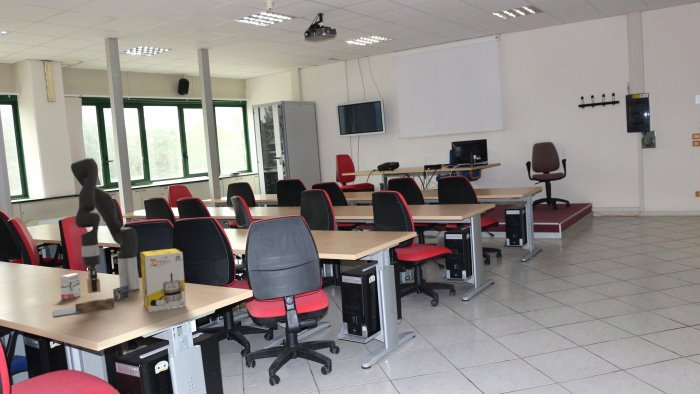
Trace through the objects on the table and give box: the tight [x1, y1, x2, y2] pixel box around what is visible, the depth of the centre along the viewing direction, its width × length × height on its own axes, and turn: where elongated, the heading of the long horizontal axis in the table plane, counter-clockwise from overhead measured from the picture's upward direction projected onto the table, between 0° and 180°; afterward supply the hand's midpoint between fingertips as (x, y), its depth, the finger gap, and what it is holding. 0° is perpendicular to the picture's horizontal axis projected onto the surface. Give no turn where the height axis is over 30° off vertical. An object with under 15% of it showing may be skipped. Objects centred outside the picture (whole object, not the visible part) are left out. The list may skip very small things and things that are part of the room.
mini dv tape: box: [112, 286, 129, 302], centre depth 275 cm, size 8×2×6 cm, turn 160°
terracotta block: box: [86, 277, 102, 294], centre depth 262 cm, size 5×5×6 cm
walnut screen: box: [75, 297, 115, 313], centre depth 257 cm, size 16×2×4 cm, turn 120°
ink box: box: [59, 272, 81, 300], centre depth 285 cm, size 9×5×12 cm, turn 168°
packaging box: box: [139, 248, 187, 313], centre depth 257 cm, size 16×16×25 cm
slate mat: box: [52, 306, 80, 318], centre depth 254 cm, size 10×12×1 cm
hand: (94, 290), depth 263 cm, fingers closed on terracotta block, 5 cm apart
